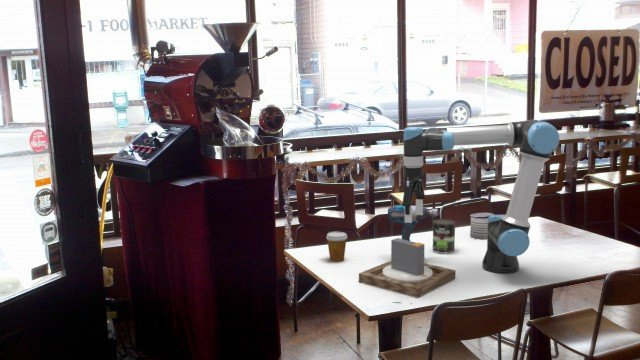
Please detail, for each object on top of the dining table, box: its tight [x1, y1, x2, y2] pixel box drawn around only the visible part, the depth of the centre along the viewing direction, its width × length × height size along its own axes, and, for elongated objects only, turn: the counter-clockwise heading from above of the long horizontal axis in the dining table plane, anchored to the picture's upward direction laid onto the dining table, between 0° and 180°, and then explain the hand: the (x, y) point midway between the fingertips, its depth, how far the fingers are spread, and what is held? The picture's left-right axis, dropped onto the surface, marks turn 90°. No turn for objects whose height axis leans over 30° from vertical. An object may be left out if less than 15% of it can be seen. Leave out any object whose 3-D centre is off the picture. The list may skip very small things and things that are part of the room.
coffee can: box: [432, 218, 456, 255], centre depth 295 cm, size 10×10×14 cm
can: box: [469, 212, 494, 241], centre depth 318 cm, size 11×11×12 cm
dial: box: [383, 237, 432, 284], centre depth 255 cm, size 20×20×14 cm
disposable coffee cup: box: [326, 231, 348, 263], centre depth 284 cm, size 10×10×12 cm
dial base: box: [358, 260, 457, 298], centre depth 256 cm, size 28×28×4 cm
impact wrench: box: [387, 204, 440, 241], centre depth 282 cm, size 8×23×25 cm, turn 78°
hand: (414, 218), depth 253 cm, fingers open, 13 cm apart
